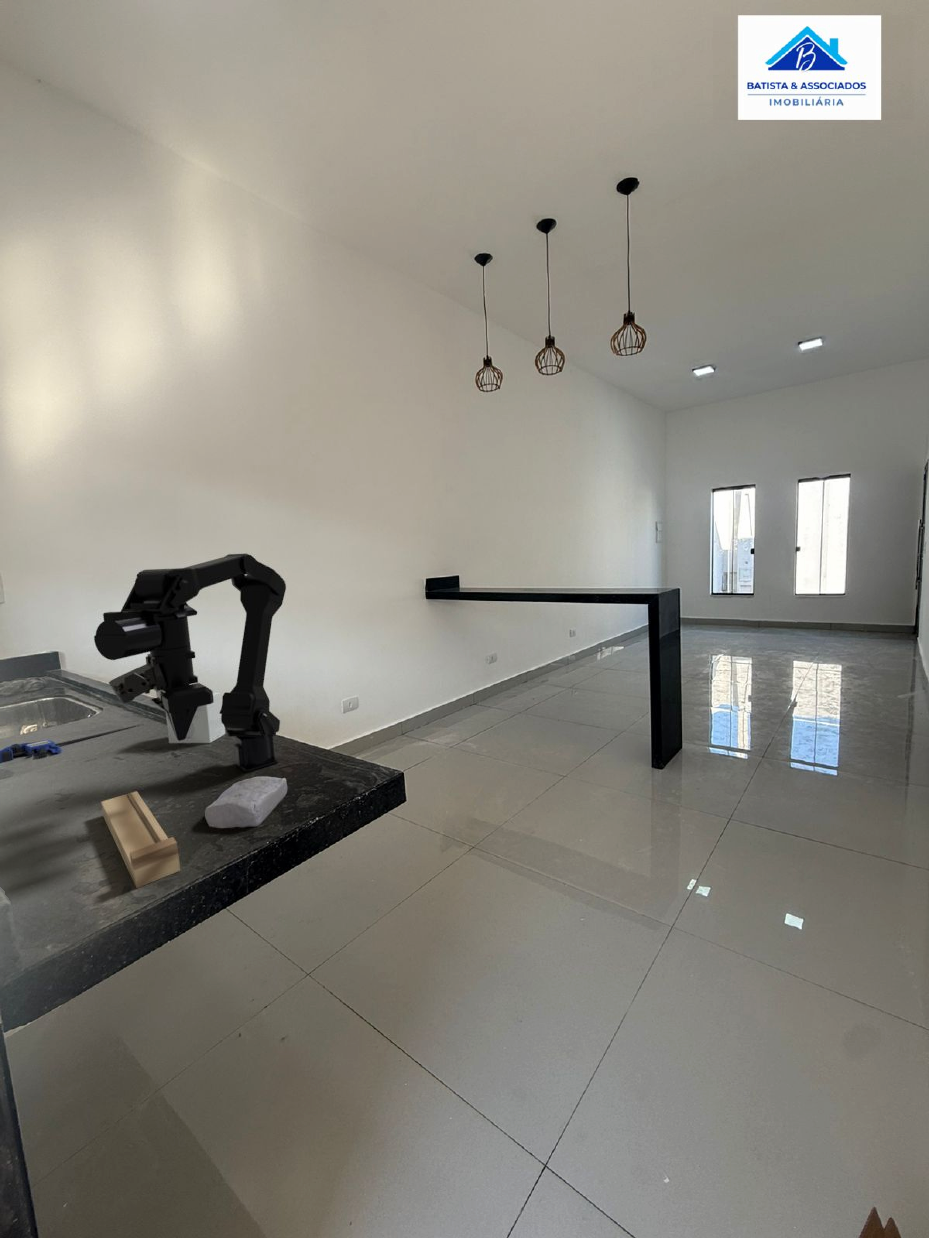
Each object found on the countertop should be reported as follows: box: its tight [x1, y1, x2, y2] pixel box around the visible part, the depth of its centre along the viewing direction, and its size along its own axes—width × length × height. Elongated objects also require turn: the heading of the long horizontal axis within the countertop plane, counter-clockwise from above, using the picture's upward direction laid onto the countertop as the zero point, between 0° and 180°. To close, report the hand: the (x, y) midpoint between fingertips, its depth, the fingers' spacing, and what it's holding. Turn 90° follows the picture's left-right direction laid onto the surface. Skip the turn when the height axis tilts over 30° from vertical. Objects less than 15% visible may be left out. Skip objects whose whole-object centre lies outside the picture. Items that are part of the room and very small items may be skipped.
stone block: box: [204, 775, 288, 829], centre depth 83 cm, size 12×5×10 cm
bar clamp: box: [0, 723, 143, 764], centre depth 120 cm, size 32×2×10 cm
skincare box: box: [165, 692, 226, 744], centre depth 117 cm, size 10×6×10 cm, turn 83°
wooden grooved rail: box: [100, 791, 181, 889], centre depth 75 cm, size 5×26×4 cm, turn 43°
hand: (181, 739), depth 83 cm, fingers closed
